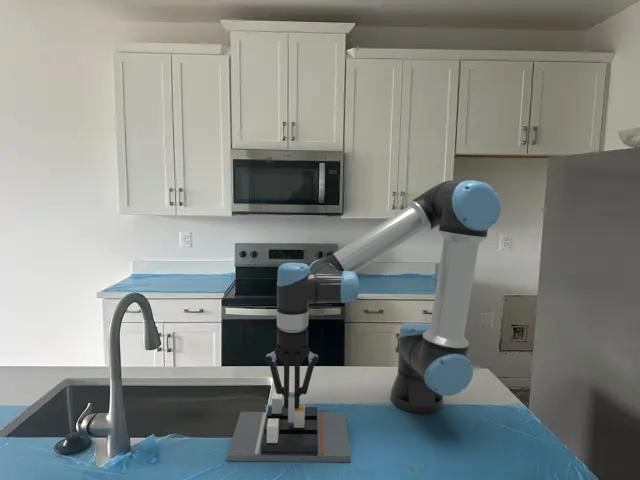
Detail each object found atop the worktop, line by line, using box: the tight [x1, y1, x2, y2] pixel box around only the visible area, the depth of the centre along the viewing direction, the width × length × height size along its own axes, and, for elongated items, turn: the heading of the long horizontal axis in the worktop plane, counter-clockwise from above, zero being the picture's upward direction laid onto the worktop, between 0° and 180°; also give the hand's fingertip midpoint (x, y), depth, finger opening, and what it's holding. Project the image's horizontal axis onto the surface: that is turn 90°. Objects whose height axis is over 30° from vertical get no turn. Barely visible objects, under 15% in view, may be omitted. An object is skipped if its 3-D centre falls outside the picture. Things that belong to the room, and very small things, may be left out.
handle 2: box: [267, 418, 279, 443], centre depth 103 cm, size 2×4×4 cm
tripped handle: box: [294, 404, 306, 428], centre depth 109 cm, size 2×4×4 cm
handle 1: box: [271, 392, 284, 414], centre depth 116 cm, size 2×4×4 cm
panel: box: [226, 405, 352, 463], centre depth 110 cm, size 28×19×4 cm
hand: (291, 419), depth 110 cm, fingers closed
